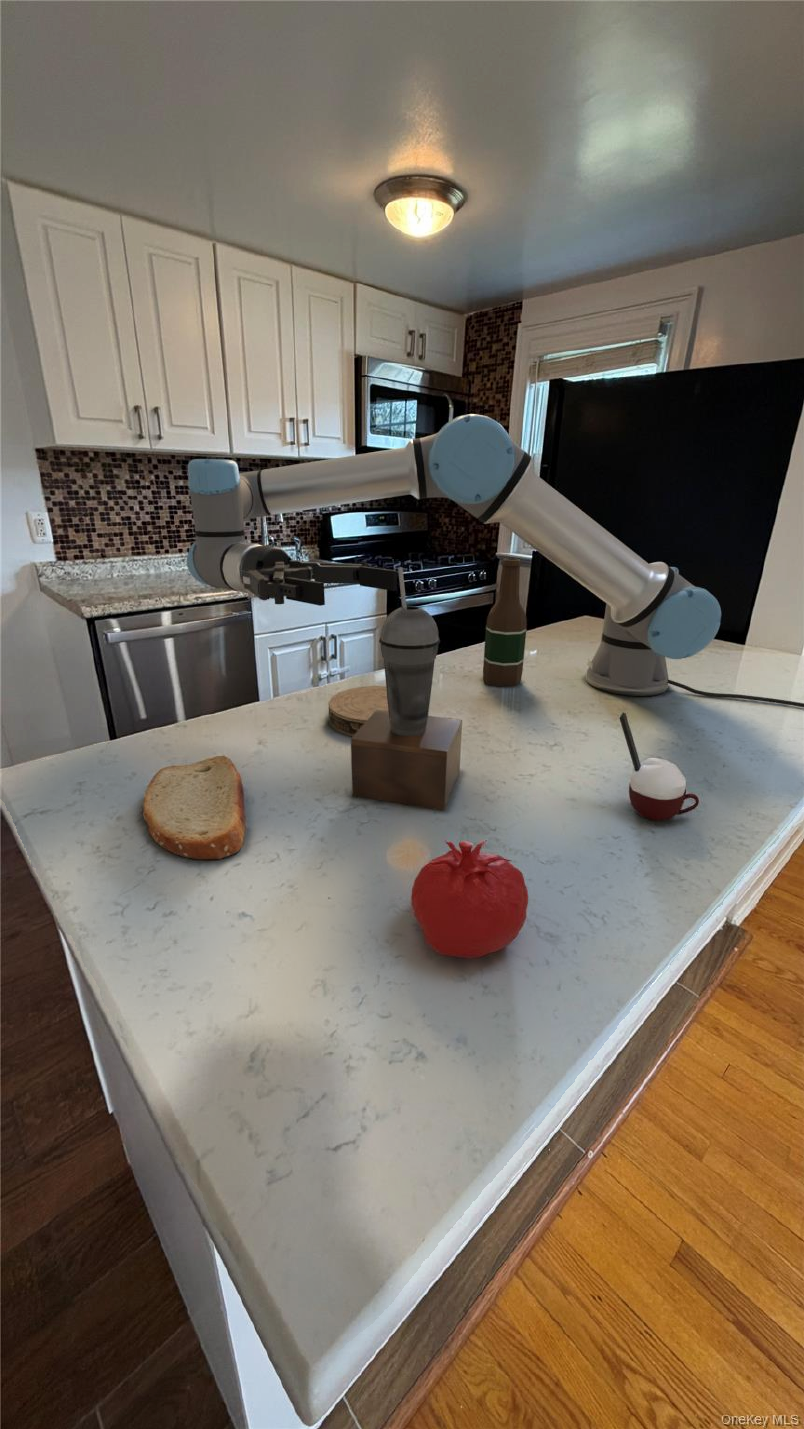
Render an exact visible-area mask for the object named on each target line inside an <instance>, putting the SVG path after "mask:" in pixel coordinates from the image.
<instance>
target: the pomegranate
mask: <svg viewBox="0 0 804 1429" xmlns="http://www.w3.org/2000/svg"><path fill="white" fill-rule="evenodd" d="M487 841H488V839H485V840H483V841H481V842H480V843H478V844H476V846H475V847H474V848H473V845H474V844H473V843H470V842H468V841H459V843H458V847H459V849H457V848H456V846H455V844H454V843H453V842H452V841H447V840H444V843H445V844H446V845H447V846H448V847H449V850H448V851H447V852H445V853H444V854H441V855H439V856H437V857H435V858H433V859H430V861H429V862H428V863H426V864H424V865H423V866H422V867H421V869H420V870H419V872H418V873H417V875H416V876H415V878H414V880H413V883H412V887H411V893H410V894H411V895H410V906H411V908H412V913H413V915H414V917H415V920H416V921H417V923H418V924H419V927H421V929H422V933H423V935H424V937H425V941H426V942H427V944H428V945H429V946H430V947H431V948H432V949H433V950H434V951H435V952H436V953H438V954H441V955H443V956H445V957H446V956H447V957H459V958H471V959H472V958H481V957H483V956H485V955H488V954H491V953H494V952H498V951H501V950H502V949H503V948H505V947H507V946H508V945H510V944H511V943H512V942H513V941H514V940H515V939H516V938H517V937H518V935H519V933H520V931H521V930H522V928H523V926H524V924H525V922H526V919H527V910H528V906H529V891H528V887H527V885H526V880H525V877H524V874H523V873H522V871H521V870H520V869H519V868H518V867H516V866H514V864H512V863H511V862H512V859H507V858H505V857H503V856H501V855H499V854H495V853H488V852H487V853H486V852H481V849H482V847H483V845H484V844H485V843H486V842H487Z"/></svg>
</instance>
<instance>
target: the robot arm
mask: <svg viewBox="0 0 804 1429" xmlns="http://www.w3.org/2000/svg"><path fill="white" fill-rule="evenodd" d="M187 476H188V478H187V479H188V483H187V486H188V489H189V496H190V501H191V508H192V518H193V524H194V525H193V526H194V534H195V542H194V543H192V544H191V545H190V547H189V549H188V553H187V556H186V566H187V569H188V571H189V573H190V575H191V576H192V577H193V578H194V579H195V580H196V581H197V582H198V583H201V584H204V585H207V586H209V587H211V588H215V589H223V590H229V591H235V592H240V593H244V594H247V595H248V597H249V598H254V597H255V596H256V597H257V598H258V600H262V601H267V600H270V599H271V600H272V599H274V605H284V604H285V600H288V601H289V600H290V601H294V602H300V603H303V604H310V605H313V606H314V605H315V606H318V607H319V606H320V607H321V606H325V605H326V600H325V599H326V597H325V584H331V585H332V584H333V585H334V584H337V585H338V584H341V585H343V584H344V585H345V584H348V585H349V584H350V585H351V584H352V585H353V584H354V585H356V584H358V585H359V586H360V587H365V588H373V589H379V590H384V591H391V592H396V591H397V590H398V569H397V570H396V569H389V568H388V569H387V568H382V567H381V568H380V567H372V564H371V563H367V561H366V560H361V563H345V562H344V563H343V562H322V561H317V560H313V561H302V560H301V559H295V560H294V559H292V557H291V556H290V555H289V553H288V552H287V551H286V550H285V549H283V548H280V547H278V546H269V545H262V544H256V543H247V542H246V537H245V536H246V534H245V523H244V521H245V520H251V519H252V520H253V519H257V518H263V517H269V516H273V515H281V514H287V513H293V512H294V513H295V512H301V511H307V510H308V511H309V510H314V509H315V510H316V509H321V508H326V507H327V508H328V507H334V506H342V505H348V504H354V503H355V504H356V503H361V502H368V501H373V500H381V499H387V498H395V497H402V496H408V495H411V496H413V498H415V499H417V500H421V499H430V498H445V499H449V500H452V501H453V502H455V503H456V504H457V505H458V506H460V507H461V508H463V509H464V510H465V511H467V512H468V513H469V514H470V515H472V516H473V517H475V518H476V519H478V520H479V521H480V522H481V523H483V524H484V525H487V524H492V523H493V524H494V523H500V524H501V525H502V526H504V527H505V528H507V529H508V531H510V532H511V533H513V534H514V535H515V536H517V537H518V538H520V539H521V540H522V541H523V542H525V543H526V544H527V545H528V546H530V547H531V548H533V549H534V550H535V551H537V552H538V553H539V554H540V555H542V556H543V557H544V558H546V559H547V560H549V561H550V562H551V563H553V564H554V565H555V566H556V567H557V568H560V570H562V571H563V572H564V573H566V575H568V576H570V577H571V578H572V579H573V580H575V581H576V582H578V583H579V584H580V585H581V586H583V587H584V588H586V589H587V590H588V591H589V592H590V593H592V594H594V595H595V596H596V597H597V598H599V599H600V600H602V601H603V602H604V603H605V611H604V618H603V625H602V633H601V639H600V643H599V645H598V648H597V650H596V652H595V654H594V655H593V657H592V659H591V660H590V659H589V658H587V661H586V665H587V666H588V668H587V670H586V676H585V680H586V682H587V683H588V684H589V685H590V686H593V687H594V688H596V689H598V690H601V691H604V692H608V693H612V694H617V695H624V696H633V697H648V696H649V697H650V696H656V695H661V694H663V693H665V692H666V691H667V690H668V685H672V686H674V687H678V688H681V689H683V690H685V691H688V692H690V693H692V694H696V695H700V696H704V697H713V698H726V699H728V698H729V699H742V700H750V701H757V702H766V703H774V704H781V705H787V706H793V707H799V708H804V702H799V701H793V700H786V699H779V698H772V697H764V696H757V695H755V696H754V695H746V694H739V693H738V694H737V693H720V692H709V691H704V690H700V689H699V690H698V689H695V688H693V687H690V686H688V685H686V684H684V683H680V682H678V681H674V680H672V679H669V673H668V666H667V660H666V658H667V659H669V660H670V659H672V660H682V659H686V658H691V657H694V656H695V655H697V654H699V653H701V652H702V651H703V650H704V649H706V648H707V647H708V646H709V645H710V644H711V642H712V641H713V640H714V639H715V637H716V635H717V634H718V632H719V629H720V626H721V620H722V619H721V618H722V609H721V605H720V603H719V601H718V599H717V598H716V597H715V596H714V595H713V594H712V593H710V591H708V590H707V589H706V588H702V587H700V586H695V585H694V584H693V583H691V582H690V581H688V580H687V579H685V577H683V576H682V575H681V574H679V572H680V571H679V569H678V567H675V566H669V565H668V564H667V563H666V562H663V561H655V562H651V563H648V562H647V561H646V560H644V559H643V558H642V557H641V556H640V555H638V554H637V553H636V552H635V551H633V550H632V549H631V548H629V547H628V546H627V545H626V544H625V543H623V542H622V541H621V540H619V539H618V538H617V537H616V536H614V535H613V534H612V533H611V532H610V531H608V530H607V529H606V528H604V527H603V526H602V525H601V524H599V523H598V522H597V521H595V520H594V519H593V518H591V516H589V515H588V514H586V513H585V512H584V511H582V509H580V508H579V507H578V506H576V504H574V503H573V502H572V501H570V500H569V499H568V498H567V497H565V496H564V495H563V494H561V493H560V492H559V491H558V490H556V489H555V488H553V487H552V486H551V485H550V484H549V483H547V482H546V481H545V480H544V479H543V478H541V477H540V476H538V474H537V473H536V472H535V467H534V457H533V456H531V455H530V454H529V453H527V451H525V450H524V449H523V448H522V447H520V446H519V445H518V444H516V443H515V441H513V440H512V438H511V437H510V435H509V433H508V431H507V430H506V429H505V428H504V426H503V425H501V424H500V423H499V422H498V421H496V420H495V419H494V418H491V417H489V416H487V415H482V414H479V413H476V414H475V413H469V414H463V415H459V416H456V417H455V418H452V419H451V420H449V421H448V422H446V423H445V424H444V425H443V426H442V427H441V429H439V431H438V432H436V433H434V434H431V435H427V436H424V437H418V438H411V439H409V441H408V442H407V444H406V445H405V446H404V447H403V446H402V447H397V448H391V449H386V450H379V451H373V452H367V453H360V454H355V455H353V454H352V455H348V456H341V457H335V458H328V459H322V460H317V461H310V462H304V463H297V464H291V465H284V466H279V467H272V468H266V469H260V470H253V471H246V472H239V466H238V463H237V462H236V461H235V460H232V459H220V458H219V459H218V458H217V459H216V458H215V459H214V458H213V459H212V458H210V459H209V458H195V459H192V460H189V462H188V464H187ZM313 579H314V580H313Z"/></svg>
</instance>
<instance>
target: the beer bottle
mask: <svg viewBox="0 0 804 1429" xmlns="http://www.w3.org/2000/svg"><path fill="white" fill-rule="evenodd" d="M500 565H501V566H502V567H501V575H500V583H499V590H498V596H497V599H496V602H495V603H494V605H492V607H491V608H490V611H489V613H488V615H487V618H486V623H485V624H486V625H485V634H484V651H483V664H482V665H483V666H482V679H483V681H484V682H485V683H486V684H487V685H490V686H493V687H500V688H507V687H510V688H511V687H515V686H517V685H518V684H520V683H521V681H522V676H523V670H524V660H525V649H526V648H525V647H526V639H527V628H528V627H527V626H528V624H527V623H528V621H527V615H526V610H525V609H524V607H523V605H522V604H521V601H520V577H521V574H520V573H521V566H523V565H522V560H521V559H520V558H517V557H516V558H515V557H505V558H503V559H502V560H501V563H500Z"/></svg>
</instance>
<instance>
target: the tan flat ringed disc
mask: <svg viewBox="0 0 804 1429" xmlns="http://www.w3.org/2000/svg"><path fill="white" fill-rule="evenodd" d="M327 705H328V721H329V724H330V726H331V727H333V729H334V730H336V731H337V732H339V733H342V734H345V735H347V736H351V737H353V736H354V735H355V734H356V732H357V731H358V730H359V729H360V728H361V727H362V726H363V724H364V723H365V722H366V721H367V720H368V719H369V718H370V717H371V715H372V714H373V713H374V712H375V711H376V710H382V711H388V700H387V689H386V685H385V686H382V685H371V686H359V687H355V688H354V687H353V688H349V689H346V690H343V691H340V692H337V693H336V694H335V695H333V696H331V697H330V699H329V701H328V704H327Z"/></svg>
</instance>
